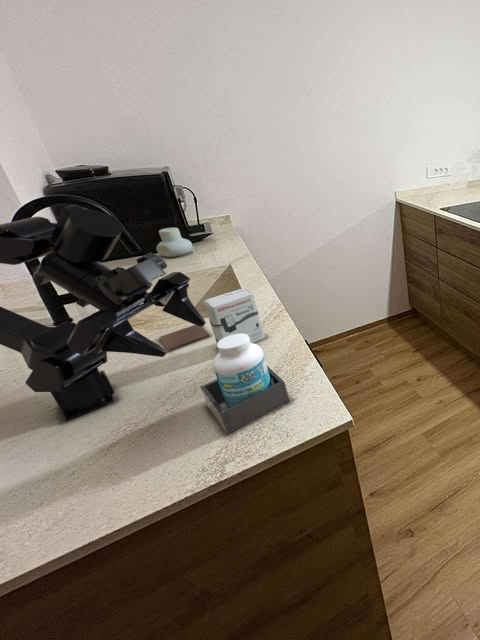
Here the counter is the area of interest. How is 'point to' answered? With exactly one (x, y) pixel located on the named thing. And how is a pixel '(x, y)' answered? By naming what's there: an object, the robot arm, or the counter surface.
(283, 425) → the counter surface
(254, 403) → the sink basin
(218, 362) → the pill bottle
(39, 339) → the robot arm
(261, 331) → the ink box
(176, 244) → the air freshener
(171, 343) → the trivet
